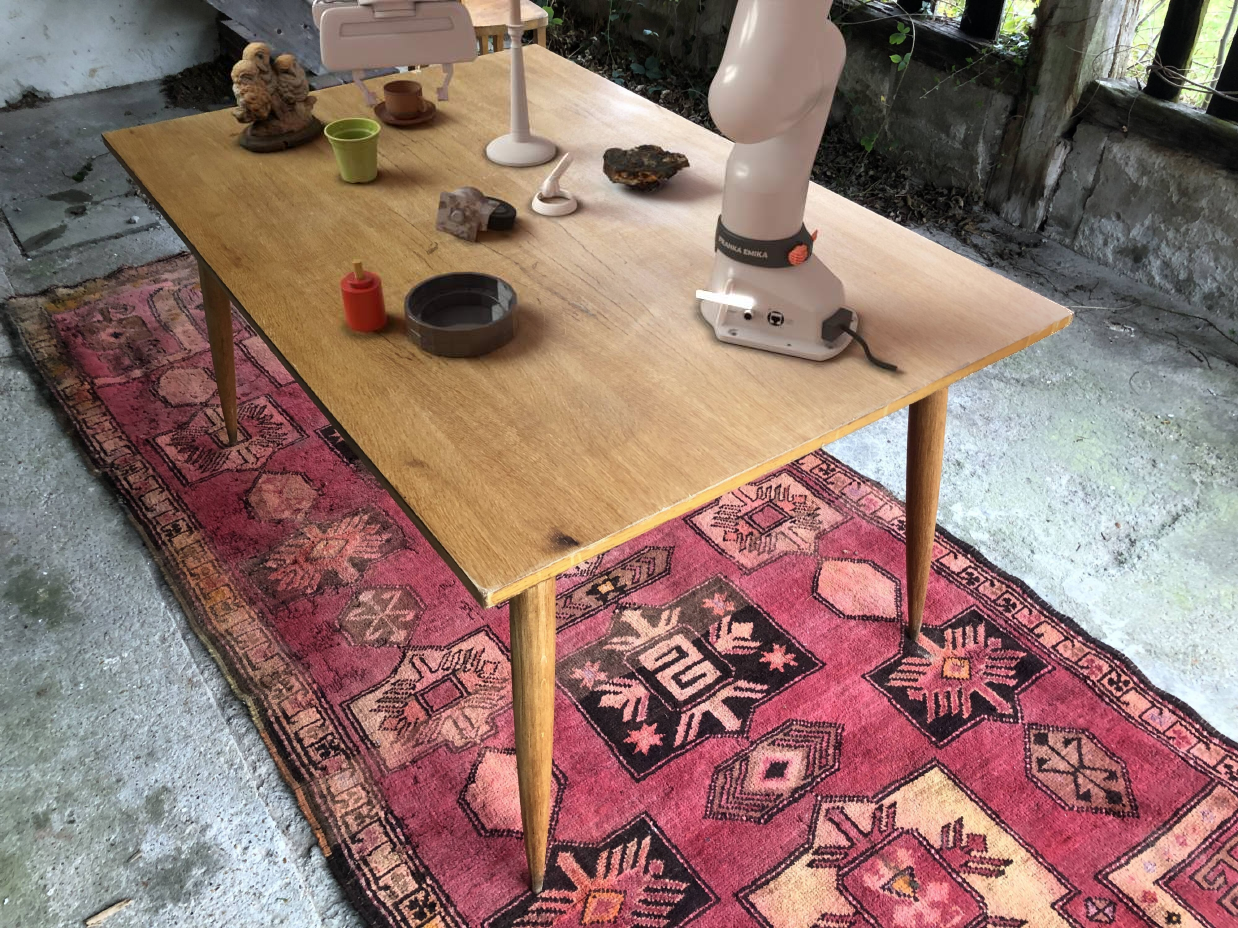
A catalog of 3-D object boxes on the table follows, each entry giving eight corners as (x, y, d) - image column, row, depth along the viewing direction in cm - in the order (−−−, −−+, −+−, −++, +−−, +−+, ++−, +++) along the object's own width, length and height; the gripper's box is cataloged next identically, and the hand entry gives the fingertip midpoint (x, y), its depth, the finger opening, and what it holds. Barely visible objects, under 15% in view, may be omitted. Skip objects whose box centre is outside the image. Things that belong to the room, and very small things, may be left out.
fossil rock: (625, 208, 165) (626, 175, 162) (592, 176, 175) (592, 144, 171) (696, 195, 170) (699, 163, 166) (660, 164, 179) (662, 133, 176)
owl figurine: (264, 161, 176) (243, 64, 165) (220, 145, 181) (196, 50, 170) (337, 129, 188) (321, 36, 177) (293, 115, 193) (275, 24, 181)
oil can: (395, 322, 138) (386, 257, 131) (370, 340, 134) (358, 275, 127) (366, 311, 140) (355, 247, 133) (340, 329, 136) (327, 264, 129)
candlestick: (553, 168, 177) (548, -10, 157) (482, 165, 177) (469, -12, 157) (557, 139, 187) (554, -31, 167) (491, 137, 187) (479, -34, 167)
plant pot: (398, 174, 174) (391, 126, 168) (360, 193, 168) (352, 144, 162) (359, 161, 177) (352, 113, 172) (321, 179, 171) (312, 131, 166)
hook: (592, 196, 157) (556, 170, 155) (556, 237, 166) (522, 214, 164) (604, 168, 162) (570, 142, 159) (569, 210, 171) (536, 186, 168)
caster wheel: (517, 232, 164) (500, 252, 155) (453, 211, 164) (433, 230, 155) (525, 194, 160) (509, 213, 152) (459, 173, 160) (440, 190, 152)
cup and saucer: (446, 110, 196) (443, 79, 192) (423, 133, 187) (419, 101, 183) (390, 104, 198) (386, 73, 194) (364, 126, 189) (360, 94, 185)
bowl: (539, 321, 139) (538, 290, 135) (475, 374, 129) (472, 343, 125) (453, 291, 144) (450, 261, 141) (385, 340, 134) (380, 309, 131)
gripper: (305, -8, 121) (325, 110, 126) (471, -17, 124) (484, 99, 129) (312, -4, 127) (330, 109, 132) (470, -13, 130) (482, 98, 135)
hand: (407, 104), depth 131 cm, fingers open, 8 cm apart
